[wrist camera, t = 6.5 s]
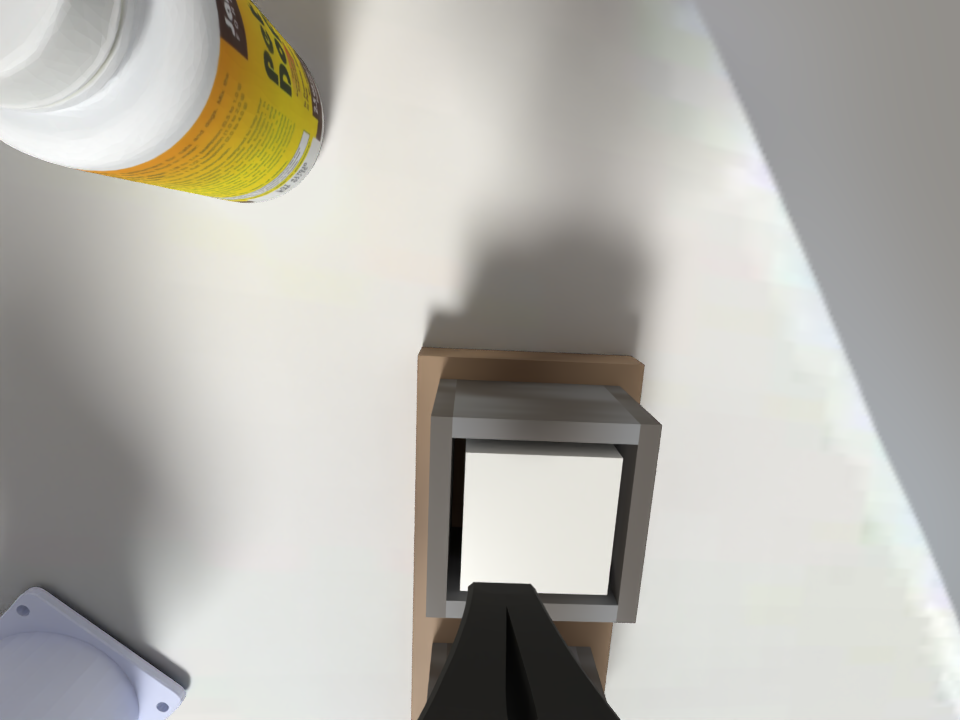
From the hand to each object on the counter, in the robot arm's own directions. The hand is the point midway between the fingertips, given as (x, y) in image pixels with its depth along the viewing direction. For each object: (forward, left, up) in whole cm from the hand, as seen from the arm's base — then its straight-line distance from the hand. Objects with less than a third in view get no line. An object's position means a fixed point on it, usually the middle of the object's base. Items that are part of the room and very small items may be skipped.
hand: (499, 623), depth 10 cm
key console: (-3, -5, -9) cm, 11 cm away
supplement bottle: (+3, +14, -10) cm, 17 cm away
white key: (+1, -1, -6) cm, 7 cm away
